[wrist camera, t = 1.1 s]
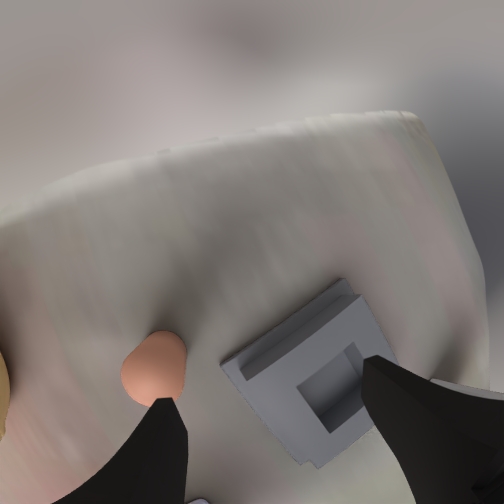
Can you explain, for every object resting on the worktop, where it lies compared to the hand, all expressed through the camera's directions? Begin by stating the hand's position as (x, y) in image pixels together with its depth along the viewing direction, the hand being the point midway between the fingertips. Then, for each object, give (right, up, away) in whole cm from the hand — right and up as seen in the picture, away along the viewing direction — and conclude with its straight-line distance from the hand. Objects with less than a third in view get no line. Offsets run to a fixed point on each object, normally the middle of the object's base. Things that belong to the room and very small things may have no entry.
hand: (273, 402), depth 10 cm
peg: (-7, -2, +11) cm, 13 cm away
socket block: (+5, -5, +13) cm, 14 cm away
